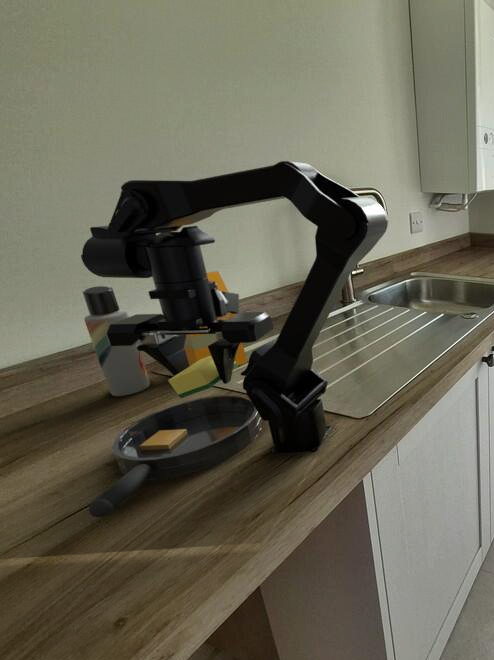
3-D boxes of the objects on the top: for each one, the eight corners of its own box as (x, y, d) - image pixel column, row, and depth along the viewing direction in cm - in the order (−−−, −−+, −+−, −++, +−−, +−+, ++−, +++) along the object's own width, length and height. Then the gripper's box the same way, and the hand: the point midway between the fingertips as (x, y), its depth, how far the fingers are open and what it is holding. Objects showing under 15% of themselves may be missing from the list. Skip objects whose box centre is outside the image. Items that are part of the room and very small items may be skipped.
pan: (282, 410, 70) (278, 392, 69) (222, 478, 54) (216, 456, 53) (177, 415, 69) (171, 396, 68) (84, 486, 53) (74, 463, 52)
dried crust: (188, 433, 63) (186, 429, 63) (169, 449, 59) (167, 444, 59) (160, 434, 63) (159, 430, 63) (140, 450, 59) (138, 446, 59)
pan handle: (159, 474, 53) (154, 460, 52) (107, 521, 46) (101, 505, 45) (141, 475, 53) (136, 461, 52) (86, 522, 46) (79, 506, 45)
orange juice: (186, 368, 87) (159, 276, 80) (231, 354, 94) (210, 269, 87) (201, 377, 83) (175, 281, 76) (248, 362, 90) (227, 273, 83)
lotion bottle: (146, 379, 82) (115, 282, 76) (153, 388, 78) (121, 287, 72) (108, 390, 78) (71, 288, 71) (113, 400, 74) (76, 293, 68)
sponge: (211, 375, 63) (200, 359, 62) (238, 366, 63) (227, 349, 62) (180, 398, 56) (167, 380, 55) (210, 387, 56) (197, 369, 55)
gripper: (280, 266, 63) (297, 358, 68) (152, 267, 62) (178, 362, 67) (241, 283, 53) (264, 391, 58) (85, 285, 51) (122, 395, 56)
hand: (208, 383), depth 60 cm, fingers closed on sponge, 5 cm apart
